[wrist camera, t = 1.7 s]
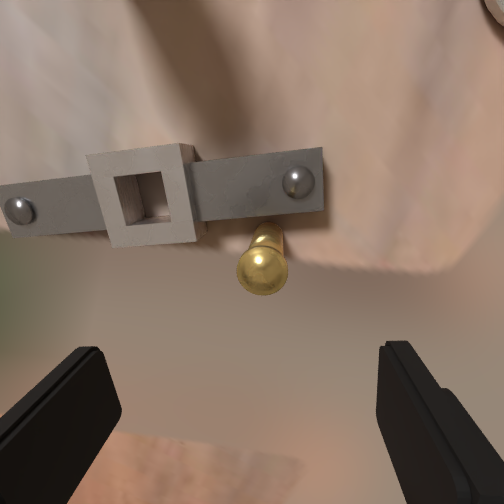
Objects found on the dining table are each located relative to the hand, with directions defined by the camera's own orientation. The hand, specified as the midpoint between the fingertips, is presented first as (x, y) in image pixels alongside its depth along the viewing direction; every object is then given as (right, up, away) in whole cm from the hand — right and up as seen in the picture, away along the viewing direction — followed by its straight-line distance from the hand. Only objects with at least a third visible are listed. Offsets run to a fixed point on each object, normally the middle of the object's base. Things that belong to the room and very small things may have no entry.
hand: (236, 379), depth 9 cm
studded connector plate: (-8, +10, +17) cm, 21 cm away
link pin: (+2, +6, +17) cm, 18 cm away
